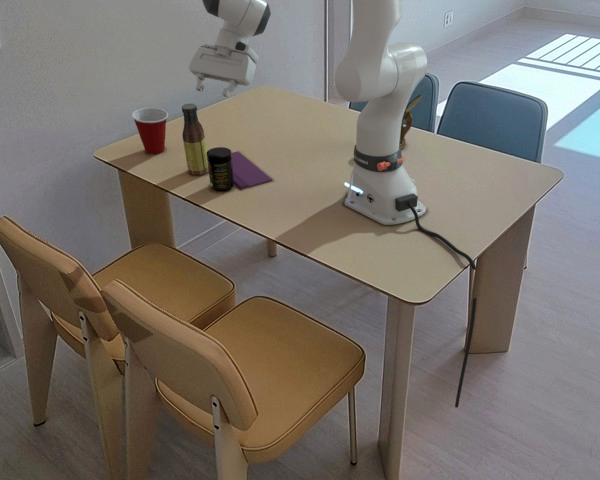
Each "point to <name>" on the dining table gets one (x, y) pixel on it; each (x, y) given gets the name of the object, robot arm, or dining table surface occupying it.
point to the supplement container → (220, 169)
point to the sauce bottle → (194, 141)
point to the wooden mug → (408, 118)
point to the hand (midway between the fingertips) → (211, 93)
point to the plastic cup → (151, 128)
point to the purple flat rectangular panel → (246, 172)
